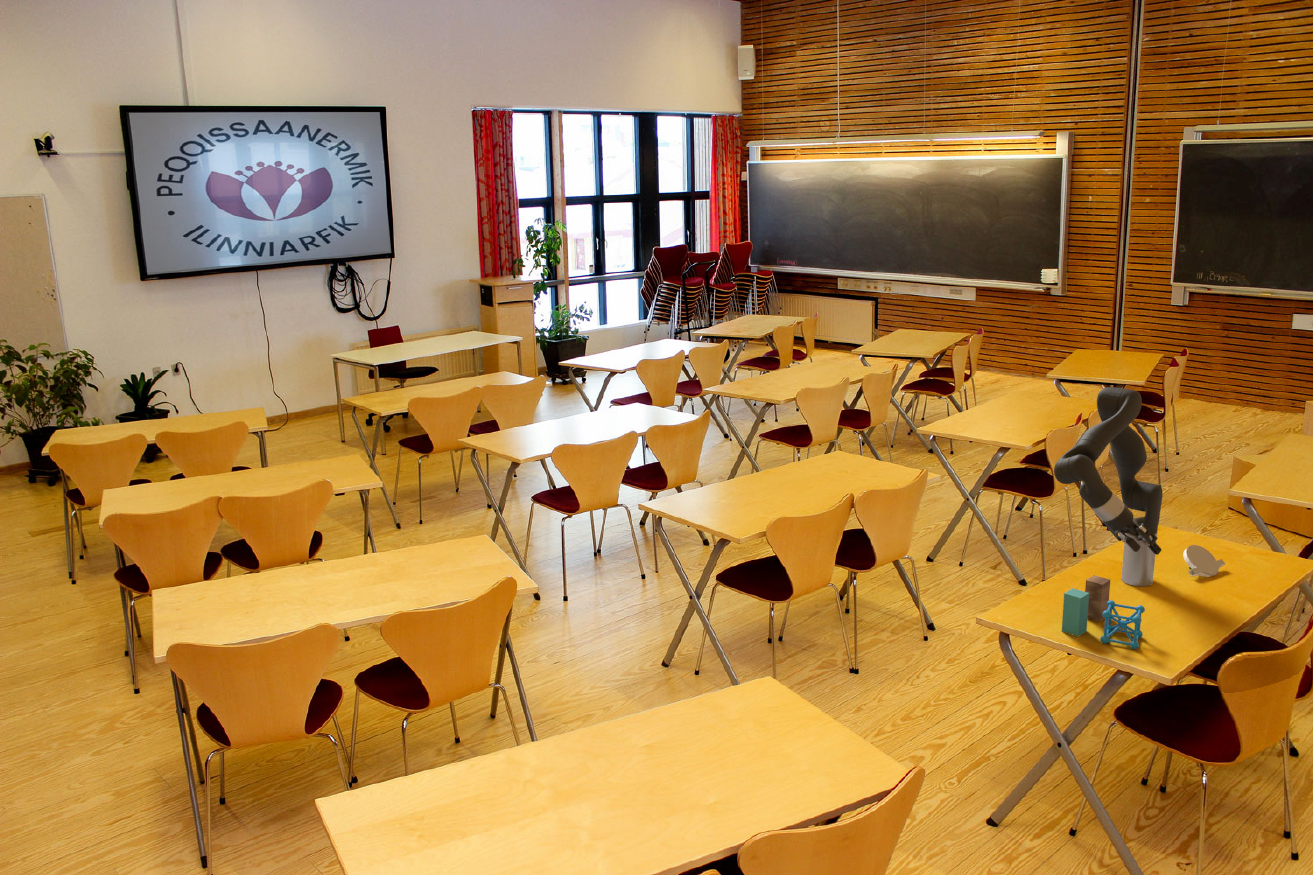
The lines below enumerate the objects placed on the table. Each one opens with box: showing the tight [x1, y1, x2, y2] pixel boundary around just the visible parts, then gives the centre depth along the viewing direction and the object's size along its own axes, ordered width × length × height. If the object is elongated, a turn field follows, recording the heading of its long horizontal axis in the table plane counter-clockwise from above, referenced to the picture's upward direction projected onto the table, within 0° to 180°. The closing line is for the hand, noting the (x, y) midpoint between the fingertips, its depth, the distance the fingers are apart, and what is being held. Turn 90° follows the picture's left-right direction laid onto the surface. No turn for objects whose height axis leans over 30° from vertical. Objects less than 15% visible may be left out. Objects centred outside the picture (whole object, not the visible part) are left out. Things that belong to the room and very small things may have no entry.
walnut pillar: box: [1084, 574, 1111, 623], centre depth 299 cm, size 5×5×12 cm
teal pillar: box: [1061, 587, 1089, 637], centre depth 291 cm, size 5×5×12 cm
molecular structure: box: [1100, 599, 1146, 650], centre depth 284 cm, size 10×10×10 cm
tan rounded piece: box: [1182, 544, 1226, 578], centre depth 328 cm, size 15×8×11 cm, turn 117°
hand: (1148, 551), depth 281 cm, fingers open, 8 cm apart
